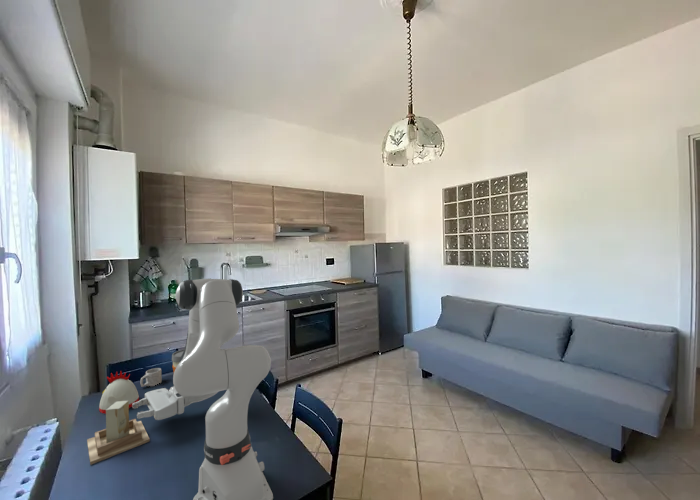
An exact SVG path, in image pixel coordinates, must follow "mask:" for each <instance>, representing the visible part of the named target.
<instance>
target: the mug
mask: <svg viewBox="0 0 700 500" xmlns="http://www.w3.org/2000/svg"><path fill="white" fill-rule="evenodd" d="M144 379H145V383H144ZM162 380H163V379H162V368H161V367H155V368H151V369H148V370H146V371H145V374H144V375H143V376H142V377H141V378H140V382H139V383H140V387H142V388H143V387H149V386H150V387H156V386H158V385H160V384H161V383H162ZM159 383H160V384H159ZM157 384H158V385H157ZM155 385H156V386H155Z"/></svg>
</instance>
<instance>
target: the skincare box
mask: <svg viewBox="0 0 700 500" xmlns="http://www.w3.org/2000/svg"><path fill="white" fill-rule="evenodd" d="M129 420H130V408H129V401H118V402H115V403H114V404H113V405H111V406H110V407H109V408H108V409H106V414H105V429H106V443H109V442H112V441H114V440H117V439H120V438H122V437H125V436H127V435H128V434H129Z"/></svg>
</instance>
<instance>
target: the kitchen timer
mask: <svg viewBox="0 0 700 500" xmlns="http://www.w3.org/2000/svg"><path fill="white" fill-rule="evenodd" d="M126 374H127V372H124V374H123V372H122V370H120V372H119V374H118V371H116V372H115V376H114V374H113V373H112V372H111V373H110V377H109V376H106V379H107V381H108V382H109V384H108V385H107V386H106V388H105V389H104V390H103V391H102V393H101V394H102V395H101V398H100V401H99V407H98V410H99V413H101V414H105V415H106V409H108V408H109V407H110V406H111V405H113V404H114V403H115V402H118V401H129V409H131V408H132V404H133V403H135V402H138V401H139V400H140V395H139V391H138V390H137V387H136V385H135V384H134V383H133V381H132V380H129V378H130V376H131V374H130V373H129V374H128V376H126Z"/></svg>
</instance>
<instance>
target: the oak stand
mask: <svg viewBox="0 0 700 500" xmlns="http://www.w3.org/2000/svg"><path fill="white" fill-rule="evenodd" d="M150 441H151V439H150V437H149V435H148V433H147V430H146V428H145V426H144V425H143V422H142V420H138V421H137V417H135V418H133V419H129V434H128V435H127V436H125V437H122V438H120V439H117V440H114V441H112V442H109V443H106V428H104V429H101V430H98V431H95V432H94V436H93V437H90V438H87V439H86V445H87V449H88V459H89V464H90V466H91V465H93V464H96V463H99V462H102V461H104V460H107V459H109V458H111V457H115V456H116V455H119V454H121V453H124V452H127V451H129V450H132V449H134V448H136V447H139V446H142V445H144V444H146V443H149V442H150Z"/></svg>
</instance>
